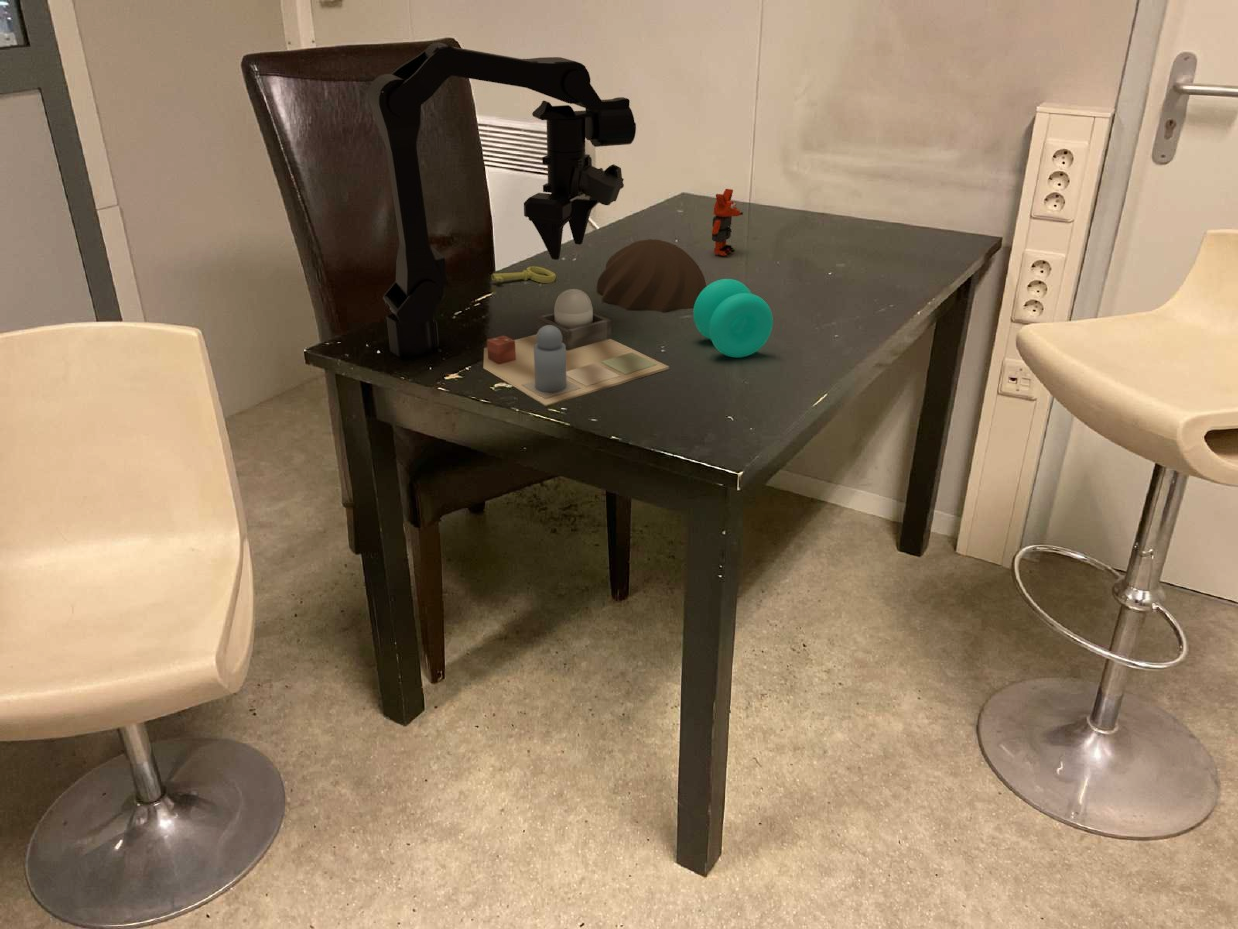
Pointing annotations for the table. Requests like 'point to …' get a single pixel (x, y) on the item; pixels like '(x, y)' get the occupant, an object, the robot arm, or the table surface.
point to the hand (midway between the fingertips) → (567, 251)
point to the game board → (570, 360)
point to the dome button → (573, 309)
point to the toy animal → (723, 222)
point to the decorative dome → (651, 277)
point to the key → (527, 275)
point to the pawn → (550, 360)
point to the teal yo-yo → (732, 318)
